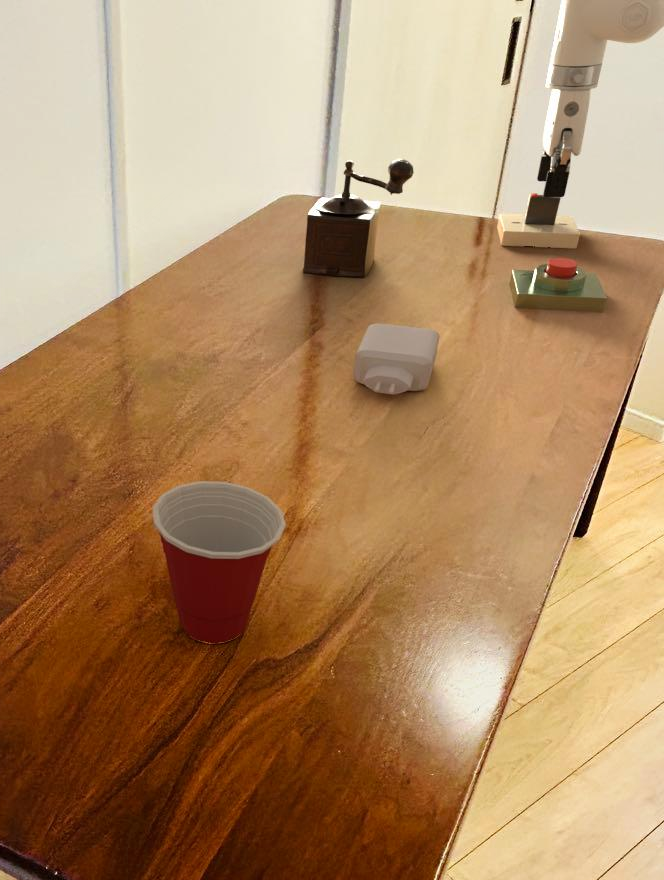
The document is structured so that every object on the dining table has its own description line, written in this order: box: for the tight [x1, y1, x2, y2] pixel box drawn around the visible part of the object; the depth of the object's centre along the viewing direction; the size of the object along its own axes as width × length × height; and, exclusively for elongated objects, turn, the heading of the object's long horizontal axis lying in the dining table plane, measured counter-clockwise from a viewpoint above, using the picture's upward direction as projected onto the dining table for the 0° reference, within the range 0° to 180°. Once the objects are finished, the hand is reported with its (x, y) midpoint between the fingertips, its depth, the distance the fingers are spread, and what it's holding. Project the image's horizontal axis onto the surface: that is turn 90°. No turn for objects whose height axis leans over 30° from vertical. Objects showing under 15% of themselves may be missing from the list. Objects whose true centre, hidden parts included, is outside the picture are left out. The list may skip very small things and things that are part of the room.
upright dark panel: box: [524, 192, 562, 225], centre depth 155 cm, size 5×2×5 cm, turn 76°
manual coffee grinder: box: [302, 158, 415, 278], centre depth 144 cm, size 16×11×18 cm
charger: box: [352, 322, 440, 395], centre depth 114 cm, size 5×9×15 cm
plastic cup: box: [152, 480, 287, 643], centre depth 76 cm, size 11×11×12 cm
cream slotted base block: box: [496, 213, 581, 250], centre depth 157 cm, size 12×10×3 cm
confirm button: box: [546, 257, 579, 277], centre depth 133 cm, size 4×4×2 cm
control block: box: [508, 263, 608, 314], centre depth 135 cm, size 12×10×4 cm
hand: (550, 188), depth 152 cm, fingers open, 9 cm apart
